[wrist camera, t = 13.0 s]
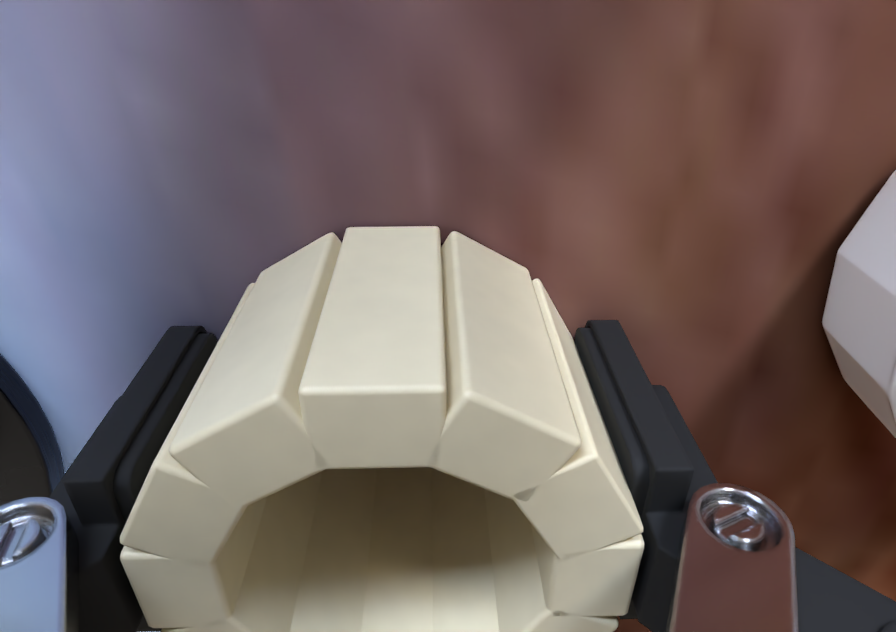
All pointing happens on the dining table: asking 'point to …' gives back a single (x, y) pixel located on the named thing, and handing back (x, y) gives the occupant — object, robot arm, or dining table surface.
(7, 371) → the tape stand
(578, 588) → the tape roll
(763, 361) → the dining table surface
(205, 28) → the dining table surface
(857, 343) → the white cup
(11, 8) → the dining table surface
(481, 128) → the dining table surface
